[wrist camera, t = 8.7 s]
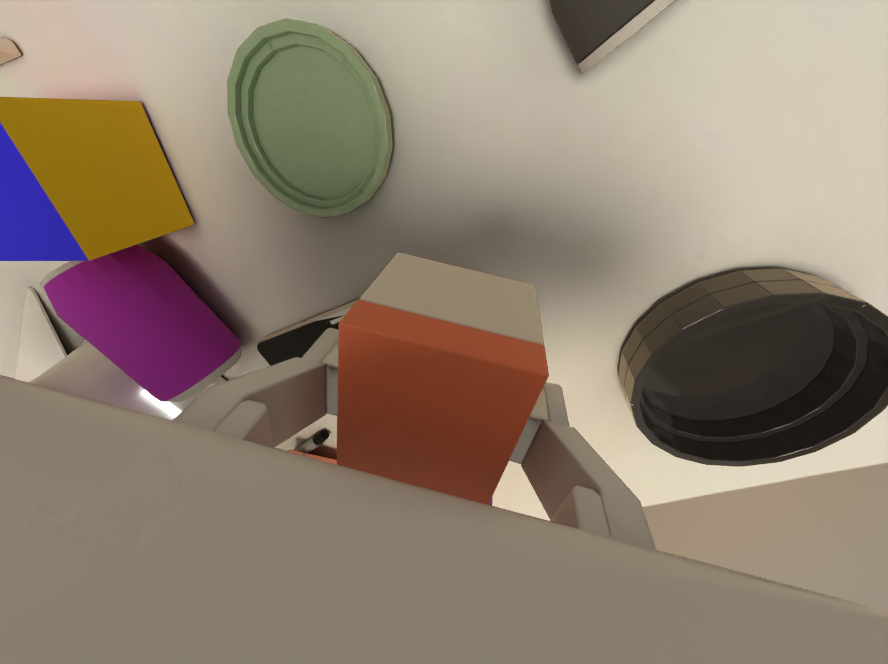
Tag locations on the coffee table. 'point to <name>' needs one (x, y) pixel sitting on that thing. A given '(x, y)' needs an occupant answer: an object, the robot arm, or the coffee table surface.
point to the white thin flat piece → (36, 341)
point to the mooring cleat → (7, 50)
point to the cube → (82, 180)
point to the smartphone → (300, 336)
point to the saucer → (309, 118)
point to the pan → (756, 368)
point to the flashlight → (601, 24)
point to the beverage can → (144, 321)
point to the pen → (313, 442)
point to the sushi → (438, 376)
